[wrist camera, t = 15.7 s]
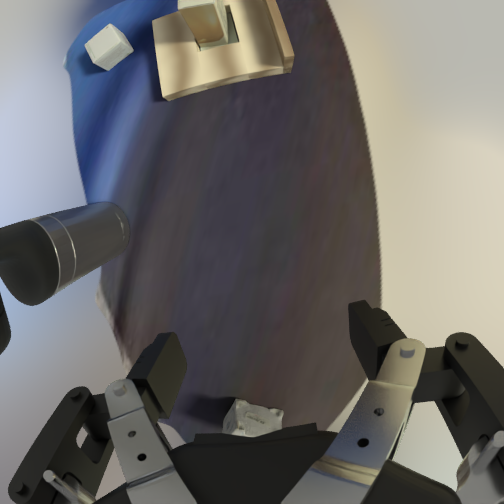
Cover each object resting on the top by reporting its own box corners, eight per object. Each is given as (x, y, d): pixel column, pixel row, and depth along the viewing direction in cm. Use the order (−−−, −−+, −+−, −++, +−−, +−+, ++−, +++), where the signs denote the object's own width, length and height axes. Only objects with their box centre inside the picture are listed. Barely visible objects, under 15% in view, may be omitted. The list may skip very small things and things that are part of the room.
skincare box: (200, 19, 30) (179, -24, 18) (228, 15, 30) (214, -31, 18) (200, 49, 32) (176, 9, 20) (229, 46, 32) (214, 2, 20)
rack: (168, 101, 34) (152, 89, 29) (157, 27, 31) (143, 10, 25) (290, 72, 33) (294, 55, 27) (267, 0, 29) (266, -21, 23)
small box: (98, 53, 32) (83, 44, 27) (123, 33, 31) (110, 21, 26) (107, 72, 33) (92, 64, 29) (135, 51, 32) (121, 40, 28)
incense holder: (286, 406, 47) (288, 446, 37) (266, 428, 49) (265, 466, 39) (239, 391, 47) (234, 432, 37) (223, 414, 49) (216, 453, 39)
